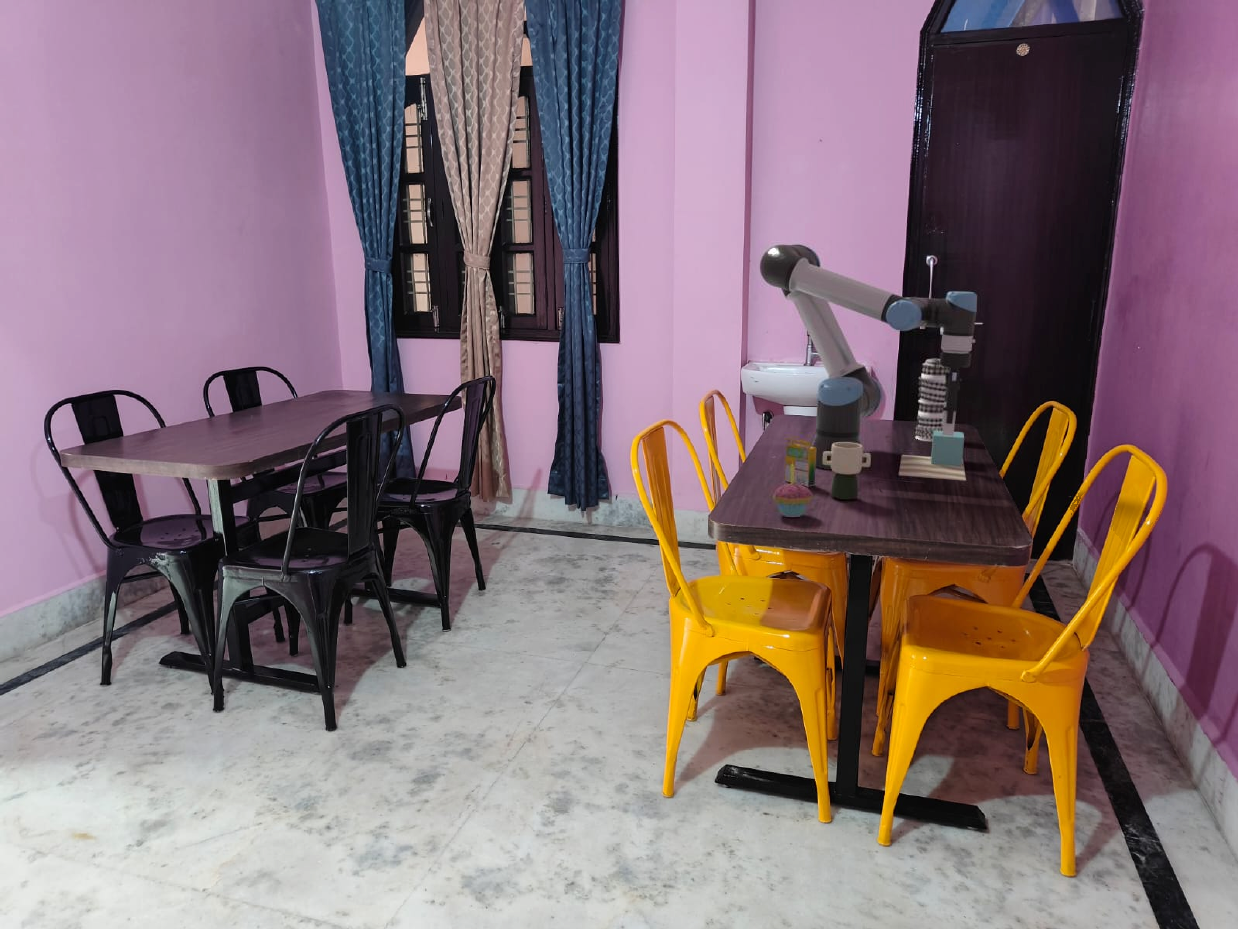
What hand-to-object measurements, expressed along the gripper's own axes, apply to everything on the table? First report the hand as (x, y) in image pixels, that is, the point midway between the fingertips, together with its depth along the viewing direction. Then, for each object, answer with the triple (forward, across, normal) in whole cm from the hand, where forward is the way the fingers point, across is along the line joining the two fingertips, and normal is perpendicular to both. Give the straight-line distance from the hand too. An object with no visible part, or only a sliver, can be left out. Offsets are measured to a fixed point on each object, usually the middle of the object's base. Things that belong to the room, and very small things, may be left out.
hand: (947, 430), depth 227 cm
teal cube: (+9, 0, 0) cm, 9 cm away
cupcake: (+11, -58, +32) cm, 67 cm away
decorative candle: (+11, +38, +4) cm, 39 cm away
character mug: (+11, -40, +22) cm, 47 cm away
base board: (+10, -7, +3) cm, 13 cm away
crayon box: (+11, -30, +34) cm, 47 cm away
